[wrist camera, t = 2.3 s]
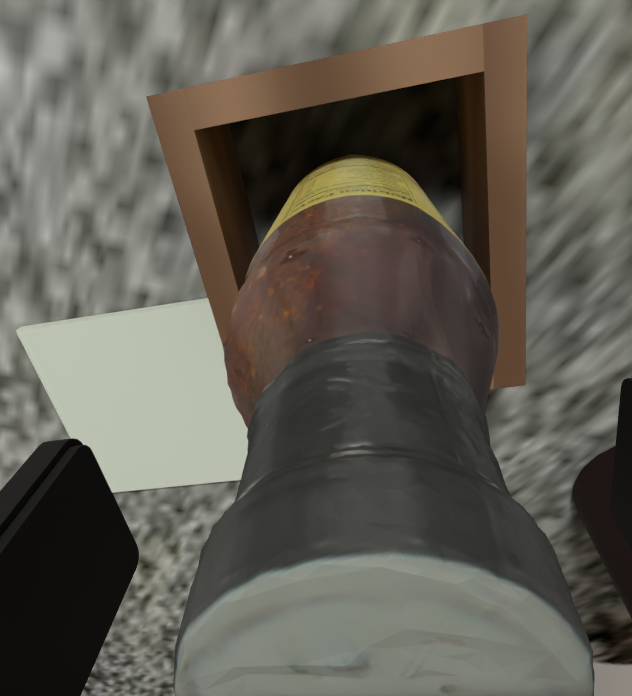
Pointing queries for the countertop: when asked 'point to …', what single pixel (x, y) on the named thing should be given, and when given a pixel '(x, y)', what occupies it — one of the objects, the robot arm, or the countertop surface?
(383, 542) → the sauce bottle
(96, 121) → the countertop surface
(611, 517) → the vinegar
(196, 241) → the frame
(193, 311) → the sage mat
